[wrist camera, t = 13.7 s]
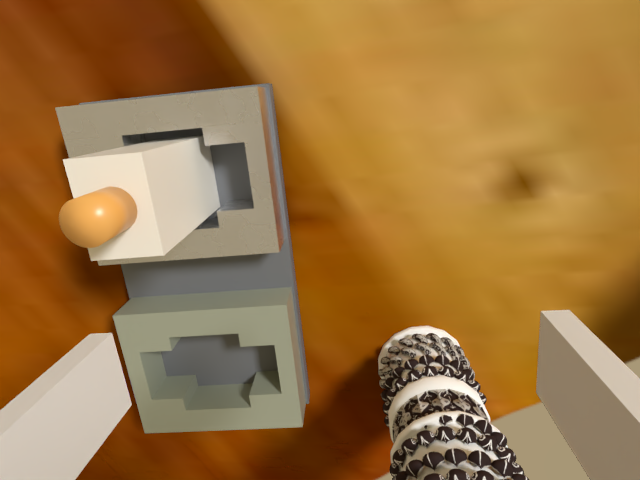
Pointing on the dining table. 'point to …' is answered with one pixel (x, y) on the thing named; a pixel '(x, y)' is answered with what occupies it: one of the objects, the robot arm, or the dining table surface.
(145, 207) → the plug
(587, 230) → the dining table surface
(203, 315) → the grey-green cross cutout frame
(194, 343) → the board
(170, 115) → the socket
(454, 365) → the decorative candle
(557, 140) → the dining table surface
